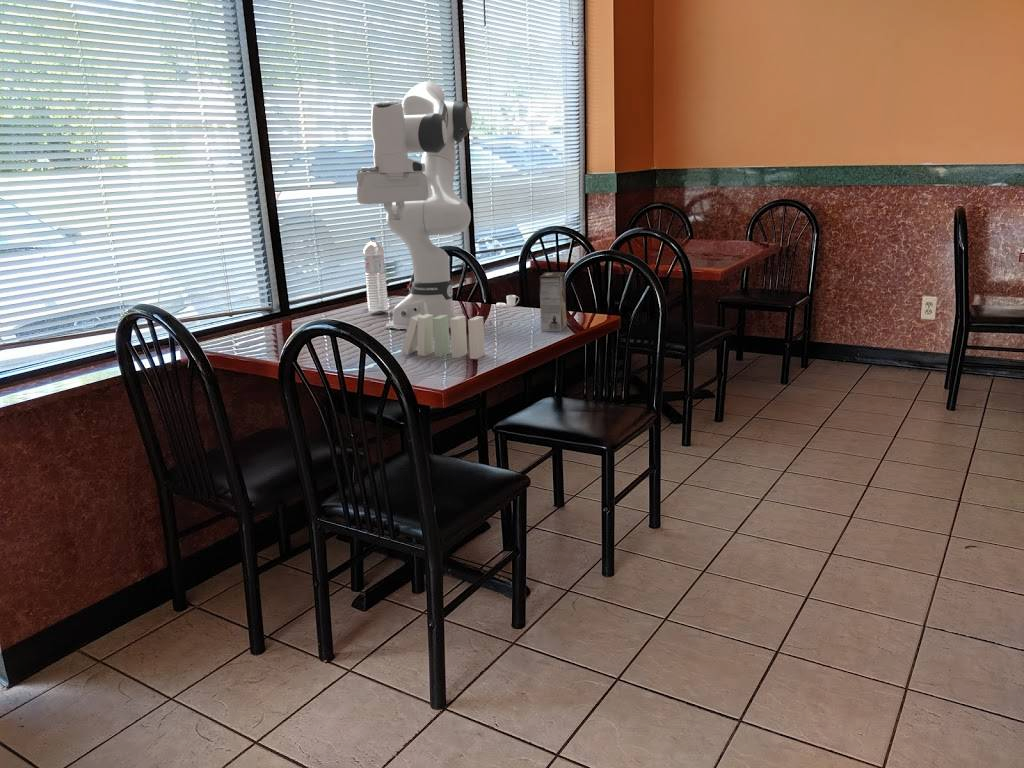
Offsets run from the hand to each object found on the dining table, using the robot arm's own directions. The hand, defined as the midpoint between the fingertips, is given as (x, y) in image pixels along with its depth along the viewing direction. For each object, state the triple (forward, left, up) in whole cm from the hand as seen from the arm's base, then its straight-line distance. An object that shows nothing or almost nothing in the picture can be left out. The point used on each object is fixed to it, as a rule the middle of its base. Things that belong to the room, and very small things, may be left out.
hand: (395, 220), depth 219 cm
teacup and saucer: (+5, +65, -35) cm, 73 cm away
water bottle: (-36, +48, -34) cm, 69 cm away
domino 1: (+5, -7, -34) cm, 35 cm away
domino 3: (+15, -7, -34) cm, 38 cm away
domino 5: (+25, -7, -34) cm, 43 cm away
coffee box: (+33, +31, -34) cm, 57 cm away
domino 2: (+10, -7, -34) cm, 36 cm away
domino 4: (+20, -7, -34) cm, 40 cm away
